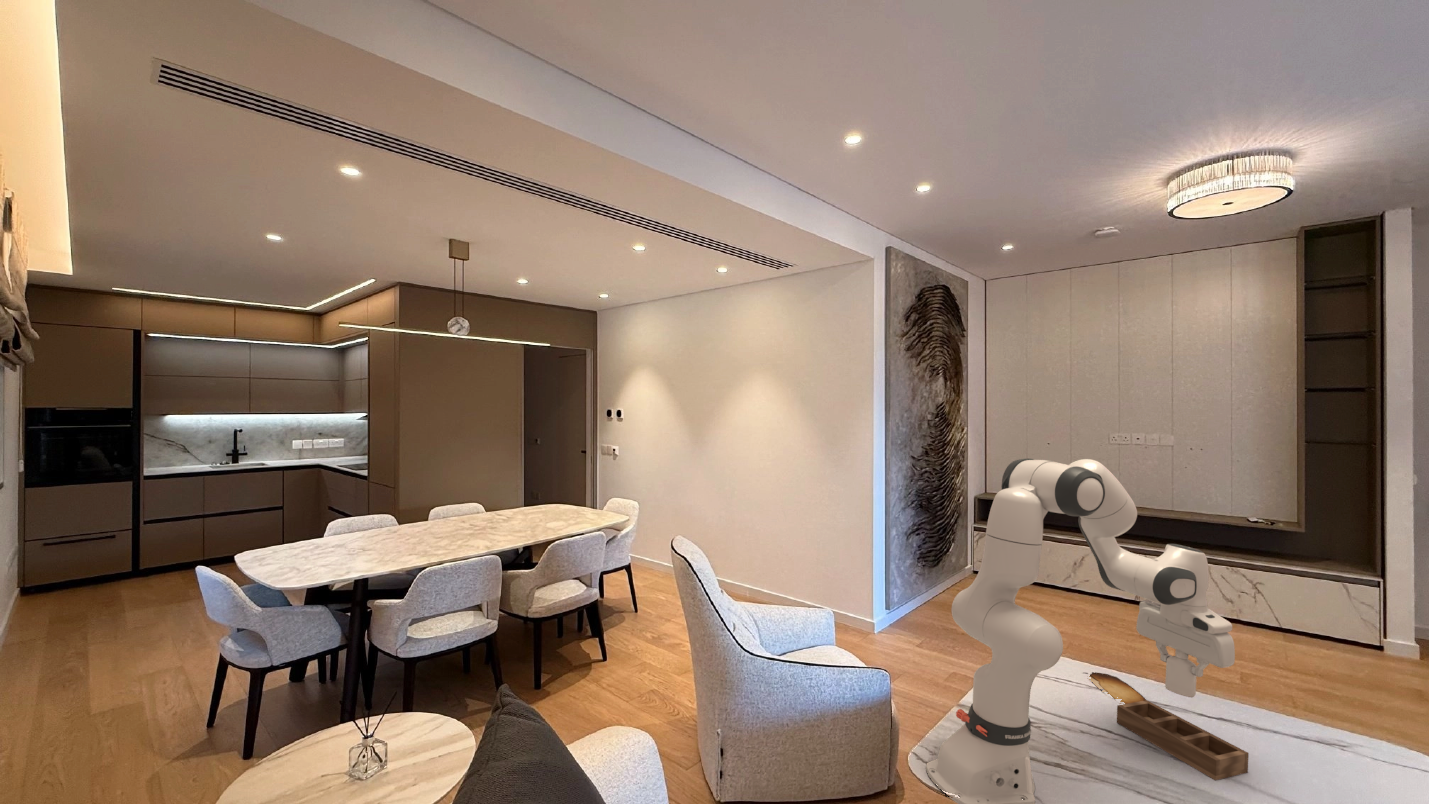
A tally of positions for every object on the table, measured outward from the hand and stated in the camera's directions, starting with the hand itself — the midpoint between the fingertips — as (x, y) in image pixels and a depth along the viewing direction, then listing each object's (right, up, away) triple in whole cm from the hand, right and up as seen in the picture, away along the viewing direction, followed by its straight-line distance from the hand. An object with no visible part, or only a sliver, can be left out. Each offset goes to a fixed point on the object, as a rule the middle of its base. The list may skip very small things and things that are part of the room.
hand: (1181, 668), depth 139 cm
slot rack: (0, -19, 0) cm, 19 cm away
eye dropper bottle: (0, -6, 0) cm, 6 cm away
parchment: (+3, -19, +24) cm, 31 cm away
